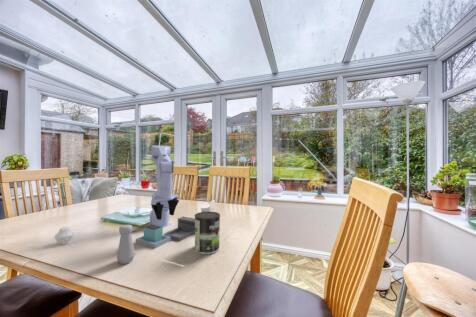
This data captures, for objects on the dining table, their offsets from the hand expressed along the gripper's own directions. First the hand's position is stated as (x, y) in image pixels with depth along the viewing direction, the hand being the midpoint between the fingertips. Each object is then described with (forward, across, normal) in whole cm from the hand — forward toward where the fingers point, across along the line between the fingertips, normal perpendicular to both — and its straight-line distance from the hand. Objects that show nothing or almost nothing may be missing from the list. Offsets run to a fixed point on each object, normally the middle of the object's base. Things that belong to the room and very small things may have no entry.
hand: (165, 217), depth 96 cm
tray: (+10, -6, +1) cm, 11 cm away
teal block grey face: (+9, -6, +1) cm, 11 cm away
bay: (+10, +7, -4) cm, 13 cm away
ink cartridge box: (+10, +20, -10) cm, 25 cm away
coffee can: (+10, 0, -23) cm, 25 cm away
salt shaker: (+10, -22, -3) cm, 24 cm away
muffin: (+10, -24, +34) cm, 43 cm away
